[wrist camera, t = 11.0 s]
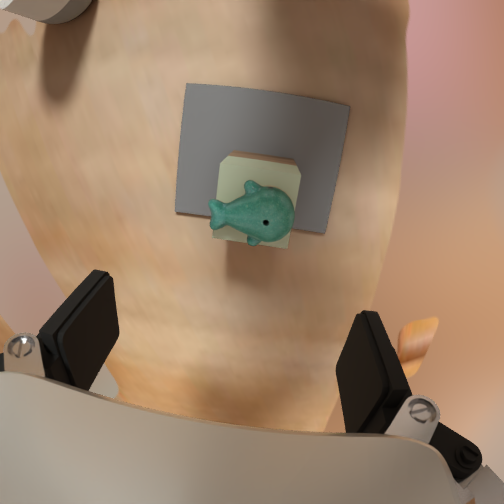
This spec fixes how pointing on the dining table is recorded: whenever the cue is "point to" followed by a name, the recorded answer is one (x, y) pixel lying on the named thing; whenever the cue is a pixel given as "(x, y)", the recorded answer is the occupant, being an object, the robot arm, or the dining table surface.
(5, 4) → the smart speaker
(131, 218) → the dining table surface
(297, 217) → the mat
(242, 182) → the top block
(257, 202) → the whale figurine
